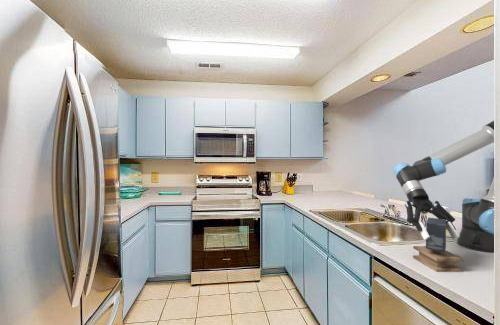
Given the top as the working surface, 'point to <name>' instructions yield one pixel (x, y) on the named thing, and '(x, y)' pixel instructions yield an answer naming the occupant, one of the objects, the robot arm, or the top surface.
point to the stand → (438, 259)
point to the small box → (436, 234)
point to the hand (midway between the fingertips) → (441, 238)
